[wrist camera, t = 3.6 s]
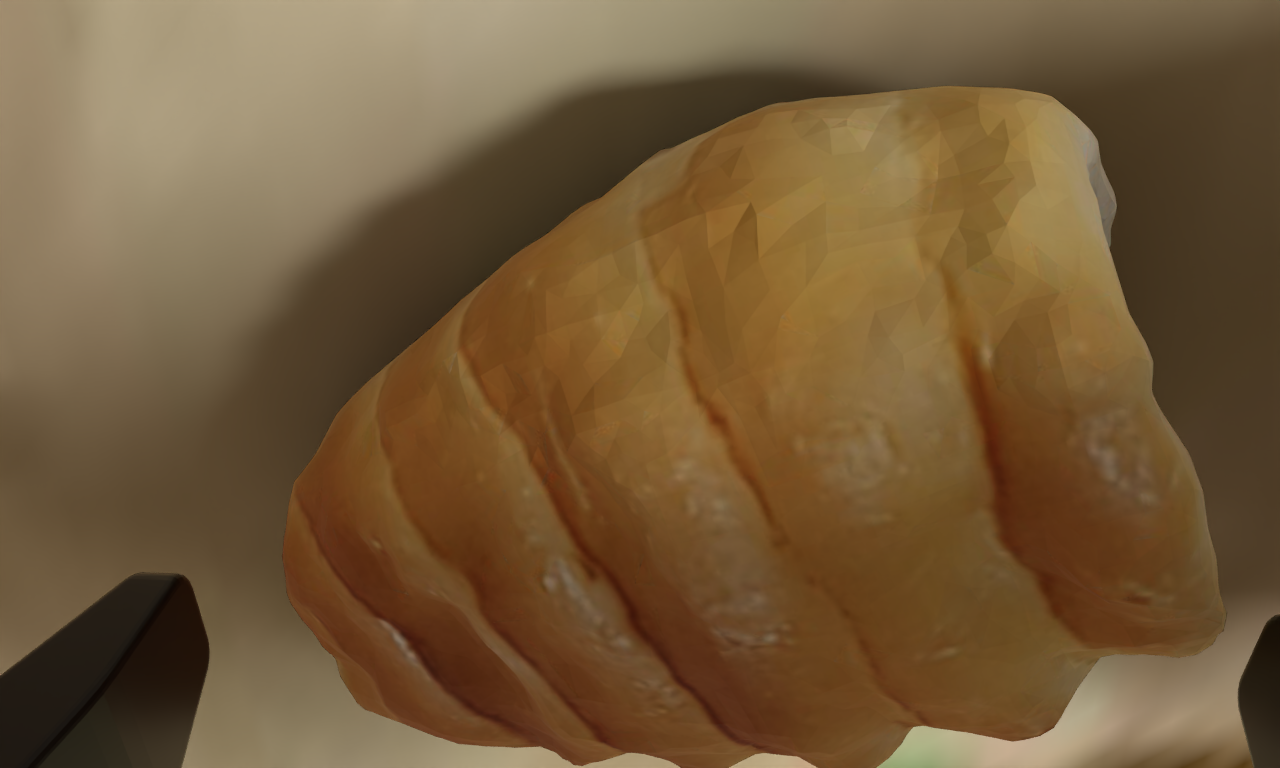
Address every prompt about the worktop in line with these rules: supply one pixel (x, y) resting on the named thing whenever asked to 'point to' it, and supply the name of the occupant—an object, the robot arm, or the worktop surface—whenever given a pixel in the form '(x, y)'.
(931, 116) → the pastry
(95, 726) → the robot arm
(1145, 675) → the worktop surface
